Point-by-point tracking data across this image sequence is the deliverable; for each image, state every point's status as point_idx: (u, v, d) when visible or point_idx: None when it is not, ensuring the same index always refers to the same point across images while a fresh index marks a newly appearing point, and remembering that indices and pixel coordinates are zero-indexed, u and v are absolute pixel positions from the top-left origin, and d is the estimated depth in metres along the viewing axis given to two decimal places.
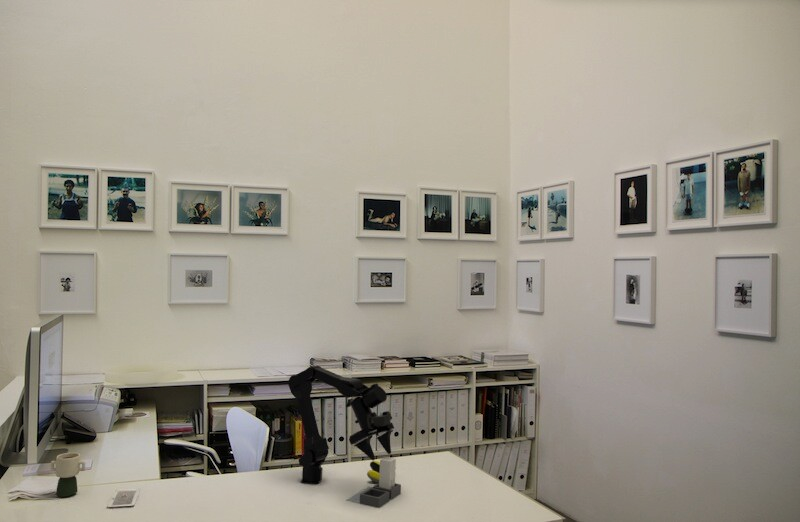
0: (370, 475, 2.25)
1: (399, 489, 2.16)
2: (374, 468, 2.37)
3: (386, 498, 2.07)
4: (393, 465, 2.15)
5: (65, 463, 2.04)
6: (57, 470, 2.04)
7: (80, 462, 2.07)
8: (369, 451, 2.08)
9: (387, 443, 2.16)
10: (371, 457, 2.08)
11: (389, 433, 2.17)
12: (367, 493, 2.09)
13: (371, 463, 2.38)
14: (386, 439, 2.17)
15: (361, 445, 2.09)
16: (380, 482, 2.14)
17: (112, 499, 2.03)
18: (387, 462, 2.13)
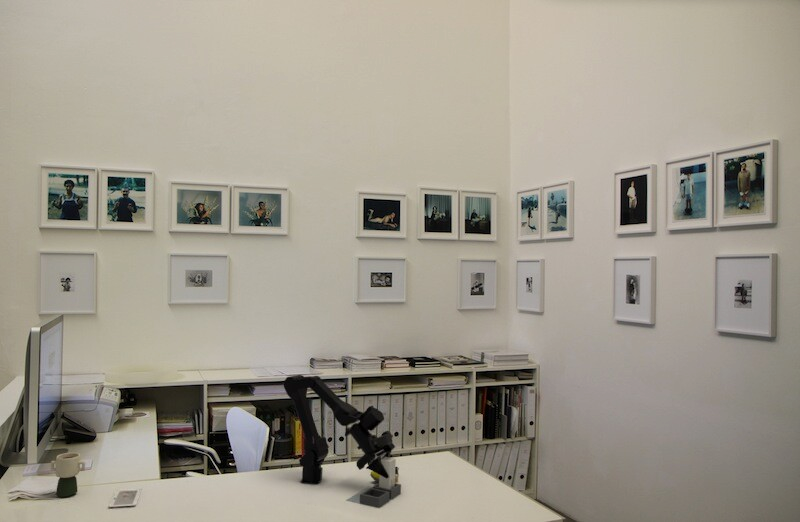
0: (373, 475, 2.25)
1: (399, 489, 2.16)
2: None
3: (386, 498, 2.07)
4: (393, 465, 2.15)
5: (65, 463, 2.04)
6: (57, 470, 2.04)
7: (80, 462, 2.07)
8: (382, 470, 2.13)
9: None
10: (385, 475, 2.13)
11: (389, 454, 2.19)
12: (367, 493, 2.09)
13: None
14: None
15: (373, 466, 2.14)
16: (380, 482, 2.14)
17: (113, 499, 2.03)
18: (387, 462, 2.13)
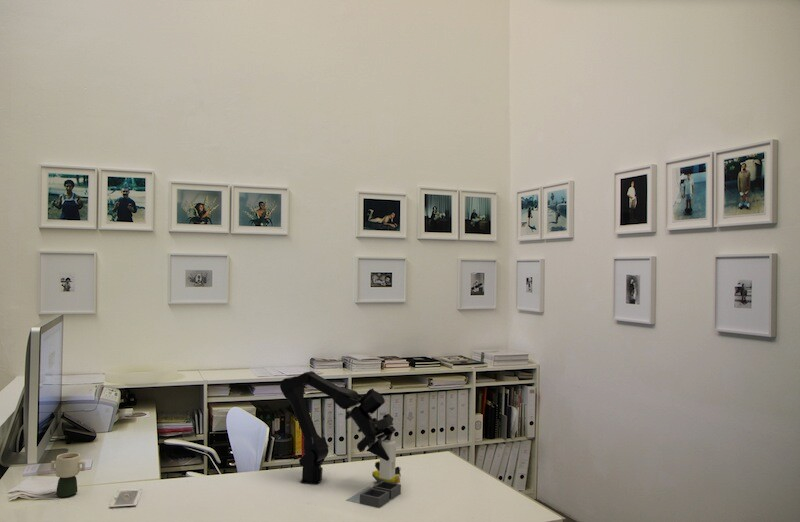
0: (375, 475, 2.25)
1: (399, 489, 2.16)
2: (379, 468, 2.36)
3: (386, 498, 2.07)
4: (394, 448, 2.15)
5: (65, 463, 2.04)
6: (57, 470, 2.04)
7: (80, 462, 2.07)
8: (382, 452, 2.13)
9: None
10: (386, 457, 2.13)
11: (389, 437, 2.19)
12: (367, 493, 2.09)
13: (376, 463, 2.38)
14: None
15: (373, 449, 2.14)
16: (380, 465, 2.14)
17: (114, 499, 2.03)
18: (388, 445, 2.13)
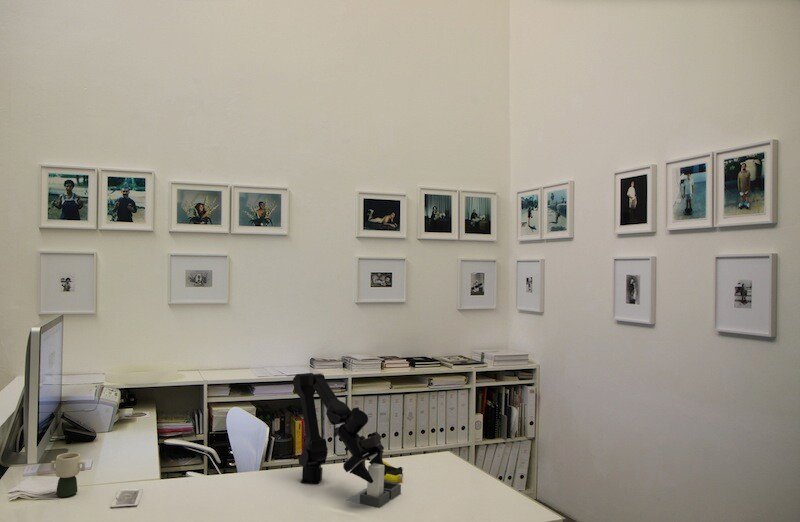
0: None
1: (399, 489, 2.16)
2: None
3: (386, 498, 2.07)
4: (382, 472, 2.07)
5: (65, 463, 2.04)
6: (57, 470, 2.04)
7: (80, 462, 2.07)
8: (366, 474, 2.03)
9: (381, 464, 2.12)
10: (369, 479, 2.03)
11: (381, 454, 2.14)
12: None
13: None
14: (379, 460, 2.13)
15: (357, 470, 2.04)
16: (368, 489, 2.06)
17: (115, 499, 2.03)
18: (375, 468, 2.06)
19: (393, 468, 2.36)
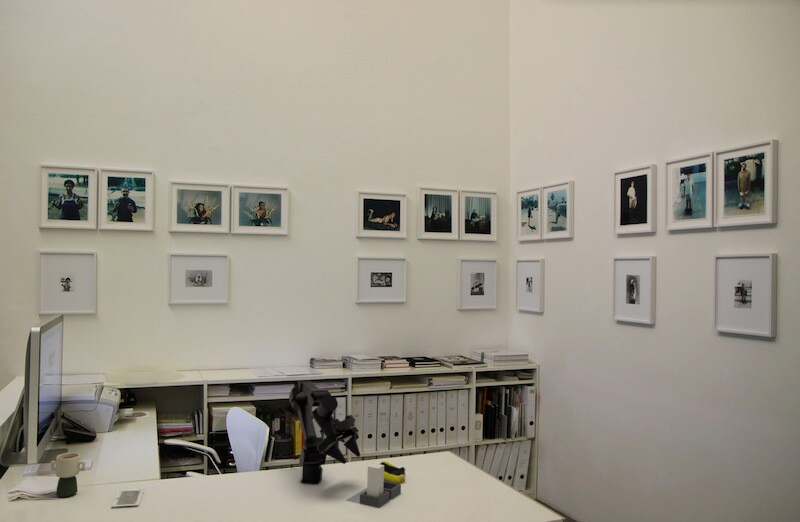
0: None
1: (399, 489, 2.16)
2: (384, 469, 2.36)
3: (386, 498, 2.07)
4: (381, 472, 2.07)
5: (65, 463, 2.04)
6: (57, 470, 2.04)
7: (80, 462, 2.07)
8: (339, 455, 2.10)
9: (355, 446, 2.19)
10: (343, 460, 2.10)
11: (355, 436, 2.21)
12: None
13: (381, 464, 2.38)
14: (353, 442, 2.20)
15: (330, 451, 2.11)
16: (368, 490, 2.06)
17: (116, 499, 2.03)
18: (375, 469, 2.05)
19: (395, 468, 2.36)
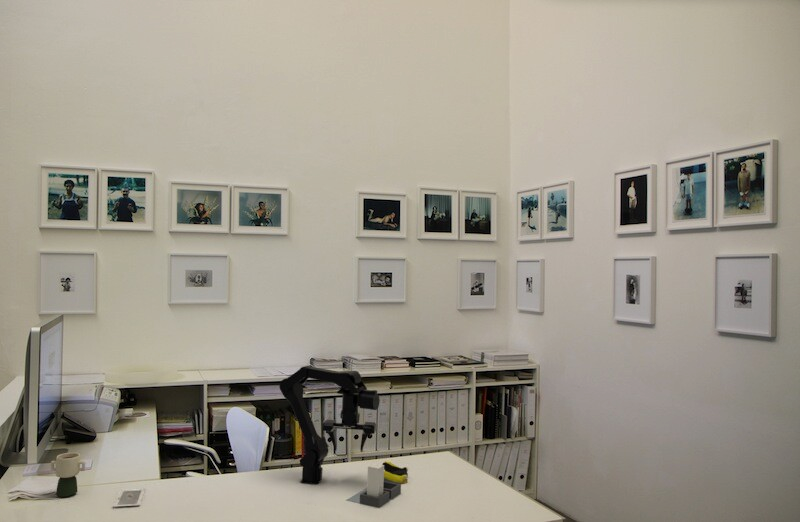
0: None
1: (399, 489, 2.16)
2: (386, 469, 2.36)
3: (386, 498, 2.07)
4: (381, 472, 2.07)
5: (65, 463, 2.04)
6: (57, 470, 2.04)
7: (80, 462, 2.07)
8: (364, 443, 2.24)
9: (336, 439, 2.25)
10: (362, 448, 2.23)
11: None
12: None
13: (383, 464, 2.37)
14: (335, 435, 2.25)
15: None
16: (368, 490, 2.06)
17: (117, 499, 2.03)
18: (375, 469, 2.05)
19: (398, 468, 2.36)
